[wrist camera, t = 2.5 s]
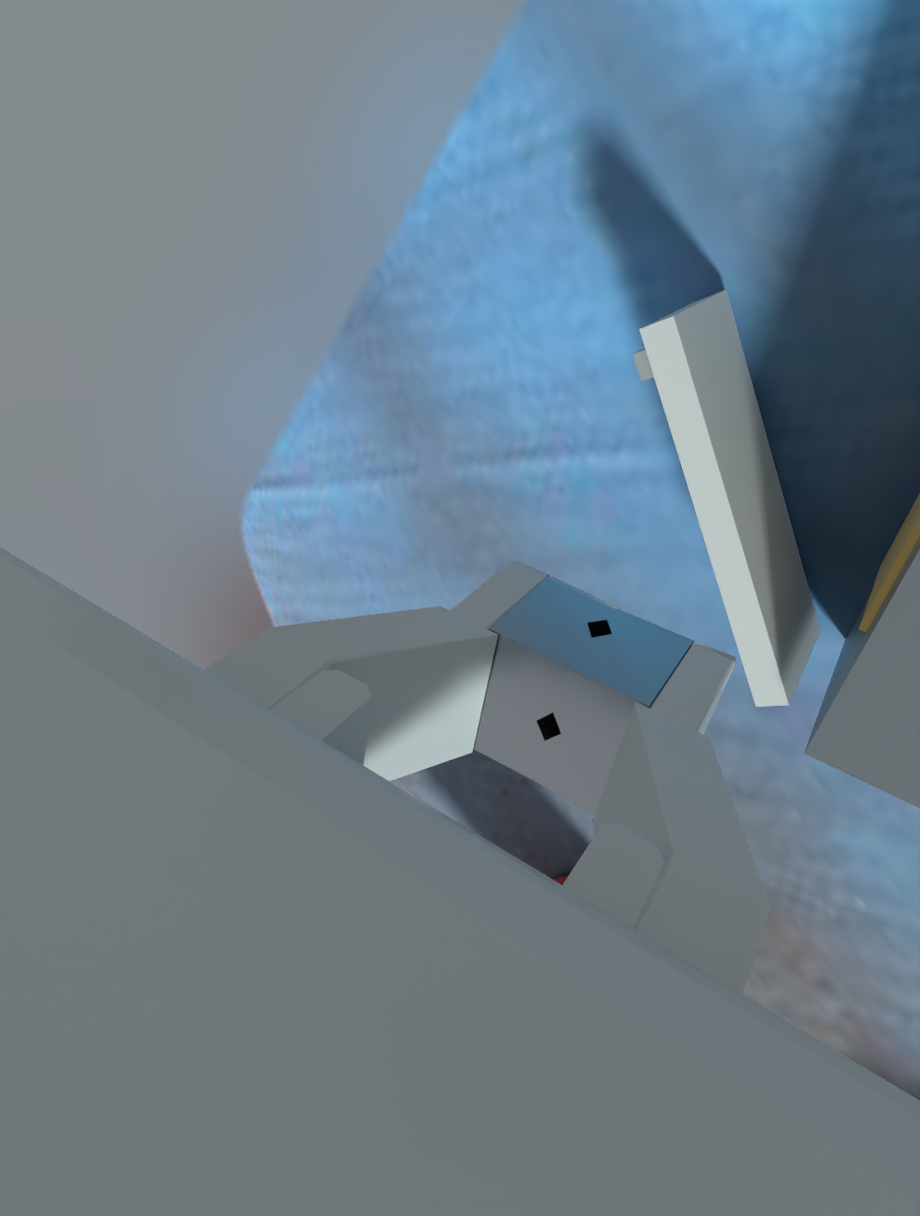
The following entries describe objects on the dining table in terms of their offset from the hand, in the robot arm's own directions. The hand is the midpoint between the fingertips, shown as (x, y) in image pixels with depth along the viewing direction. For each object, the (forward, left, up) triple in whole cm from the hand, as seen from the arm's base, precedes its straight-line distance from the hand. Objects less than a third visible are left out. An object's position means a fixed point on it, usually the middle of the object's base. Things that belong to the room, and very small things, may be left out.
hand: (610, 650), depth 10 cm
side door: (+5, -1, -19) cm, 19 cm away
